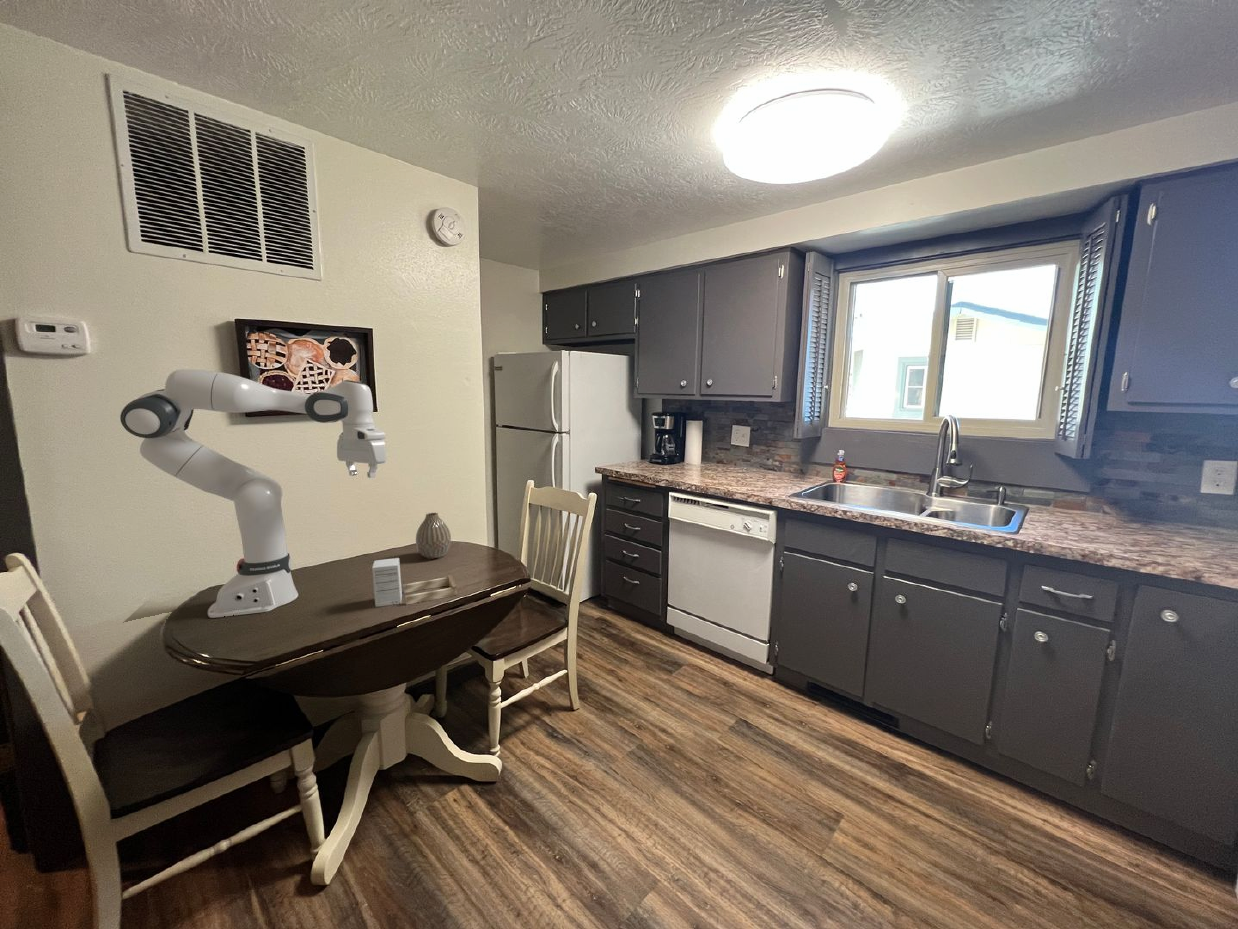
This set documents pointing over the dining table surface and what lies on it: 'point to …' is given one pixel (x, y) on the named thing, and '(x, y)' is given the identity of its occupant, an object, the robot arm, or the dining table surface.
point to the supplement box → (387, 582)
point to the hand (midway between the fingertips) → (362, 476)
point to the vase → (433, 537)
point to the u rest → (431, 594)
